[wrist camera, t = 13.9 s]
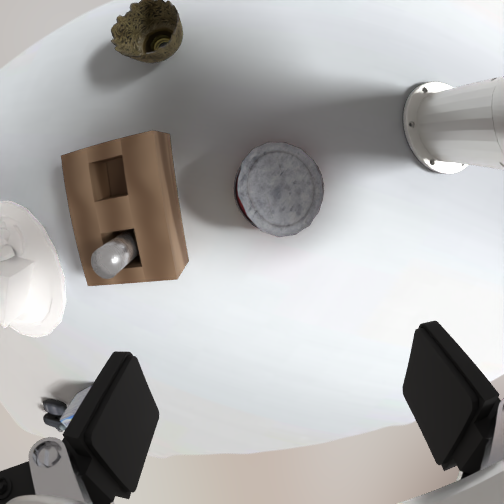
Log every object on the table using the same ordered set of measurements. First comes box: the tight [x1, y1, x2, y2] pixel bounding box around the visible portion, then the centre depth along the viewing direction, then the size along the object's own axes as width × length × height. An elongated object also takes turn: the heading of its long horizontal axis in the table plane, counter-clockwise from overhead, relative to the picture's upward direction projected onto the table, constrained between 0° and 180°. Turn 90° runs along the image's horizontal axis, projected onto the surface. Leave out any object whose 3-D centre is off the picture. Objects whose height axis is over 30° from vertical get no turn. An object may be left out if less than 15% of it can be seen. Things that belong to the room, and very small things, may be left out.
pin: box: [91, 228, 139, 279], centre depth 31 cm, size 3×3×9 cm
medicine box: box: [60, 385, 92, 427], centre depth 43 cm, size 8×4×9 cm, turn 125°
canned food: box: [234, 142, 324, 237], centre depth 32 cm, size 11×10×10 cm
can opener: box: [43, 400, 67, 432], centre depth 47 cm, size 18×7×6 cm, turn 88°
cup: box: [111, 0, 183, 63], centre depth 26 cm, size 8×7×8 cm
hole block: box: [61, 130, 189, 286], centre depth 33 cm, size 12×16×6 cm
